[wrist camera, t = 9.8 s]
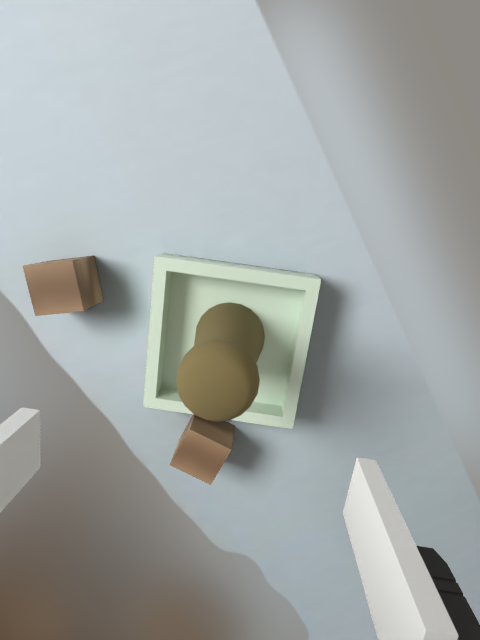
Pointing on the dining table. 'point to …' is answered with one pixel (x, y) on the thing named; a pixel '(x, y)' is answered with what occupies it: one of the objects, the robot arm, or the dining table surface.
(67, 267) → the walnut cube
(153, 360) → the tray
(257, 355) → the olive tall rounded piece
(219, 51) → the dining table surface
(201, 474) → the walnut cube
